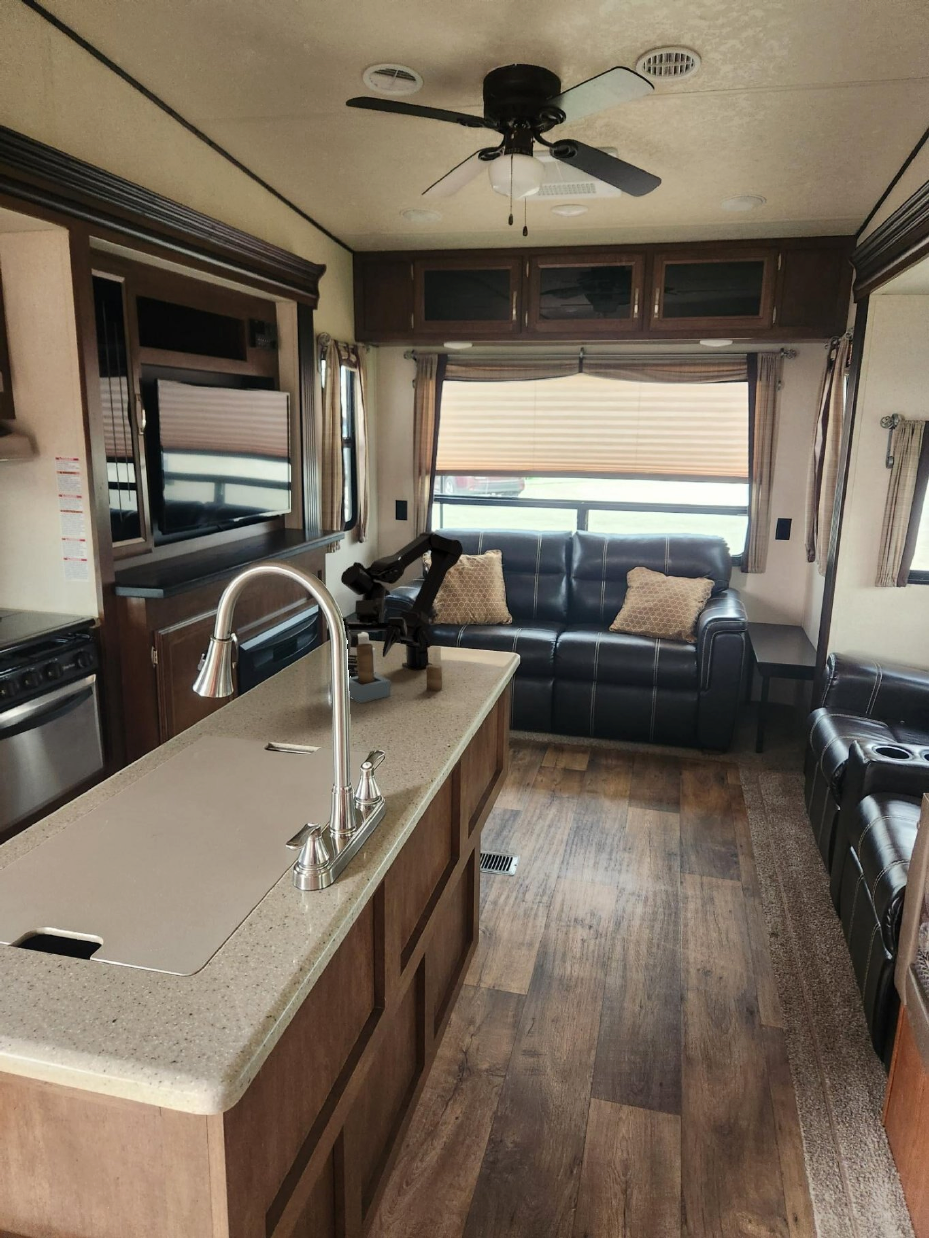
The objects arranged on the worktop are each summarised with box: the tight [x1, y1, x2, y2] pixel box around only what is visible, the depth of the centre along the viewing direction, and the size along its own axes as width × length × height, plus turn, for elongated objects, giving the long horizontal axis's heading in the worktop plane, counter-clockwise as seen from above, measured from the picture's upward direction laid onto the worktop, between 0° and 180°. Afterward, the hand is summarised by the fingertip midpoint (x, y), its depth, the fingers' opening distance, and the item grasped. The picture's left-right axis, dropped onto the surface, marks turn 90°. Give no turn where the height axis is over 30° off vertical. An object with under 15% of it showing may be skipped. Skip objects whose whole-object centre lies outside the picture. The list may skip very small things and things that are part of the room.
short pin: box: [425, 664, 443, 692], centre depth 214 cm, size 4×4×6 cm
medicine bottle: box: [348, 630, 377, 678], centre depth 226 cm, size 7×7×12 cm
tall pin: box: [356, 643, 375, 685], centre depth 209 cm, size 4×4×13 cm
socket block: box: [349, 673, 392, 704], centre depth 210 cm, size 9×9×4 cm
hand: (365, 656), depth 208 cm, fingers open, 9 cm apart
